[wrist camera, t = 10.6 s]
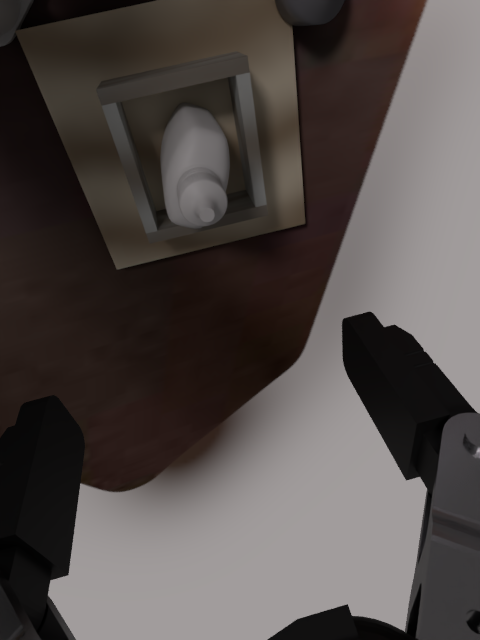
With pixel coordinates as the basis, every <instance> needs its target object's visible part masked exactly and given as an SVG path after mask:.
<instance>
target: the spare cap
mask: <svg viewBox="0 0 480 640" xmlns="http://www.w3.org/2000/svg"><path fill="white" fill-rule="evenodd" d="M344 1H345V0H275V3H276V6H277V9H278V11H279V13H280V14H281V16H282V17H283V19H284V20H285V21H286V22H288V23H289V24H291V25H294V26H308V25H320V24H325V23H327V22H329V21H331V20H332V19H333V18H334V17H335V16H336V15H337V14H338V12H339V11H340V9H341V7H342V5H343V3H344Z"/></svg>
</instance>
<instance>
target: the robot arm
mask: <svg viewBox="0 0 480 640" xmlns="http://www.w3.org/2000/svg"><path fill="white" fill-rule="evenodd" d="M342 343H343V344H342V345H343V362H344V367H345V370H346V372H347V375H348V377H349V379H350V381H351V382H352V384H353V386H354V388H355V390H356V392H357V393H358V395H359V397H360V399H361V401H362V402H363V404H364V406H365V407H366V409H367V411H368V413H369V415H370V417H371V418H372V420H373V422H374V424H375V425H376V427H377V429H378V431H379V433H380V434H381V436H382V438H383V440H384V442H385V443H386V445H387V447H388V449H389V450H390V452H391V454H392V456H393V457H394V459H395V461H396V463H397V465H398V467H399V468H400V470H401V472H402V474H403V475H404V477H405V479H406V480H409V479H413V478H416V477H421V479H422V481H423V482H424V484H425V486H426V487H427V493H426V500H425V508H424V514H423V520H422V528H421V534H420V541H419V548H418V556H417V562H416V568H415V574H414V579H413V584H412V590H411V595H410V601H409V608H408V614H407V621H406V628H405V632H404V631H402V630H400V629H398V628H396V627H394V626H392V625H390V624H388V623H385V622H382V621H379V620H376V619H371V618H366V617H359V616H352V615H351V613H350V610H349V607H348V605H344V606H340V607H337V608H334V609H331V610H327V611H324V612H320V613H317V614H313V615H310V616H307V617H303V618H300V619H297V620H296V621H294V622H293V623H291V624H290V625H288V626H287V627H285V628H284V629H283V630H281V631H280V632H278V633H277V634H275V635H274V636H273V637H271V638H269V639H268V640H480V414H478V413H477V412H476V411H475V410H474V409H473V408H472V407H471V406H470V405H469V403H468V402H467V401H466V400H465V399H464V397H463V396H462V395H461V394H460V393H459V392H458V390H457V389H456V388H455V386H454V385H453V384H452V383H451V382H450V380H449V379H448V378H447V377H446V376H445V374H444V373H443V372H442V371H441V370H440V368H439V367H438V366H437V365H436V364H434V363H433V360H432V359H431V358H430V356H429V355H428V354H427V353H426V352H424V350H423V348H422V347H421V345H420V344H419V343H418V342H417V341H416V340H415V338H414V337H413V336H412V335H411V334H409V333H408V332H406V331H404V330H402V329H401V328H399V327H397V326H396V325H391V326H388V327H383V325H382V324H381V323H380V322H379V320H378V319H377V318H376V316H375V315H374V314H373V313H372V312H366V313H363V314H359V315H355V316H352V317H348V318H344V319H343V322H342ZM84 450H85V443H84V437H83V433H82V430H81V428H80V427H79V425H78V424H77V423H76V421H75V420H74V419H73V417H72V416H71V414H70V413H69V412H68V410H67V409H66V408H65V406H64V405H63V404H62V402H61V401H60V400H59V398H58V397H56V396H54V395H52V396H48V397H44V398H41V399H37V400H33V401H29V402H26V403H24V404H23V405H22V406H21V408H20V411H19V414H18V418H17V421H16V424H15V426H12V427H8V428H7V429H6V431H5V432H4V434H3V435H2V436H1V438H0V640H76V639H75V637H74V636H73V634H72V633H71V631H70V629H69V628H68V626H67V624H66V623H65V621H64V619H63V618H62V617H61V615H60V613H59V612H58V610H57V608H56V606H55V605H54V603H53V602H52V600H51V599H50V598H49V597H48V591H49V584H50V580H53V579H56V578H60V577H63V576H67V575H68V573H69V566H70V558H71V550H72V542H73V535H74V527H75V519H76V511H77V504H78V495H79V489H80V481H81V473H82V466H83V458H84Z"/></svg>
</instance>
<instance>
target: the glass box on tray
mask: <svg viewBox="0 0 480 640" xmlns="http://www.w3.org/2000/svg"><path fill="white" fill-rule="evenodd" d="M15 32H16V35H17V37H18V39H19V42H20V44H21V46H22V49H23V51H24V53H25V56H26V58H27V60H28V63H29V65H30V67H31V70H32V72H33V74H34V77H35V79H36V81H37V84H38V86H39V88H40V91H41V93H42V95H43V98H44V100H45V102H46V105H47V107H48V110H49V112H50V114H51V117H52V119H53V121H54V124H55V126H56V128H57V131H58V133H59V135H60V138H61V140H62V142H63V145H64V147H65V149H66V152H67V154H68V156H69V159H70V161H71V163H72V166H73V168H74V170H75V173H76V175H77V177H78V180H79V182H80V184H81V187H82V189H83V191H84V194H85V196H86V198H87V201H88V203H89V205H90V208H91V210H92V212H93V215H94V217H95V219H96V222H97V224H98V226H99V229H100V231H101V234H102V236H103V238H104V241H105V243H106V245H107V248H108V250H109V252H110V255H111V257H112V259H113V262H114V264H115V266H116V269H117V270H118V269H122V268H126V267H130V266H134V265H138V264H142V263H147V262H151V261H155V260H159V259H163V258H167V257H171V256H175V255H179V254H183V253H188V252H192V251H196V250H200V249H204V248H208V247H212V246H216V245H220V244H224V243H229V242H233V241H237V240H241V239H245V238H249V237H253V236H257V235H261V234H265V233H270V232H274V231H278V230H282V229H286V228H290V227H294V226H298V225H302V224H305V210H304V195H303V180H302V165H301V150H300V135H299V120H298V104H297V89H296V74H295V59H294V44H293V29H292V25H291V24H289V23H288V22H286V21H285V20H284V19H283V17H282V16H281V14H280V13H279V11H278V9H277V6H276V3H275V0H156V1H152V2H147V3H142V4H138V5H133V6H128V7H124V8H119V9H114V10H110V11H105V12H100V13H96V14H91V15H86V16H82V17H77V18H72V19H68V20H63V21H58V22H54V23H49V24H45V25H40V26H35V27H31V28H26V29H21V30H17V31H15ZM181 103H190V104H194V105H197V106H200V107H203V108H205V109H207V110H209V111H210V112H211V114H212V115H213V117H214V118H215V120H216V121H217V123H218V124H219V126H220V128H221V129H222V131H223V133H224V135H225V137H226V139H227V142H228V147H229V157H230V169H229V179H228V184H227V189H226V195H227V198H228V199H227V200H228V202H227V203H228V204H227V209H226V212H225V214H224V216H223V217H222V218H221V219H220V220H219V221H218V222H216V223H215V224H213V225H209V226H203V227H202V228H198V229H194V228H188V227H183V226H180V225H176V224H175V223H173V222H171V220H170V219H169V217H168V214H167V211H166V206H165V199H164V192H163V183H162V173H161V162H160V154H161V144H162V139H163V135H164V131H165V129H166V126H167V124H168V121H169V119H170V117H171V116H172V114H173V112H174V111H175V109H176V108H177V107H178V105H180V104H181Z"/></svg>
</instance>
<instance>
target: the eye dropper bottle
mask: <svg viewBox="0 0 480 640" xmlns="http://www.w3.org/2000/svg"><path fill="white" fill-rule="evenodd" d="M160 162H161V173H162V183H163V192H164V199H165V206H166V211H167V214H168V217H169V219H170V220H171V222H173V223H175V224H176V225H180V226H183V227H188V228H194V229H198V228H202V227H203V226H209V225H213V224H215V223H216V222H218V221H219V220H220V219H221V218H222V217H223V216H224V214H225V212H226V209H227V204H228V203H227V202H228V200H227V199H228V198H227V195H226V189H227V184H228V179H229V169H230V157H229V147H228V142H227V139H226V137H225V135H224V133H223V131H222V129H221V128H220V126H219V124H218V123H217V121H216V120H215V118H214V117H213V115H212V114H211V112H210V111H209V110H207V109H205V108H203V107H200V106H197V105H194V104H190V103H181V104H180V105H178V107H177V108H176V109H175V111H174V112H173V114H172V116H171V117H170V119H169V121H168V124H167V126H166V129H165V131H164V135H163V139H162V144H161V154H160Z"/></svg>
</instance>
